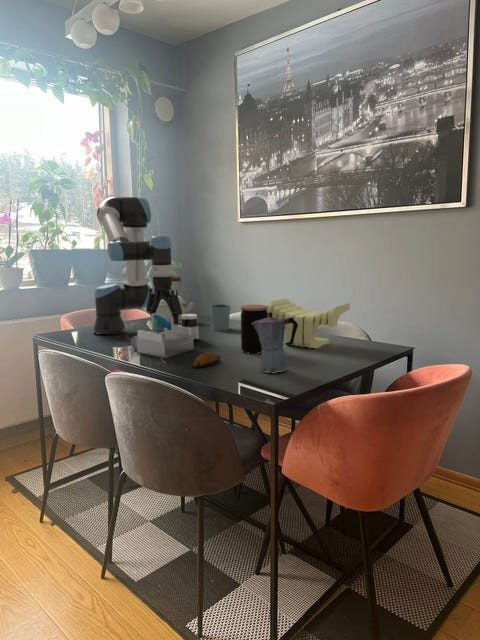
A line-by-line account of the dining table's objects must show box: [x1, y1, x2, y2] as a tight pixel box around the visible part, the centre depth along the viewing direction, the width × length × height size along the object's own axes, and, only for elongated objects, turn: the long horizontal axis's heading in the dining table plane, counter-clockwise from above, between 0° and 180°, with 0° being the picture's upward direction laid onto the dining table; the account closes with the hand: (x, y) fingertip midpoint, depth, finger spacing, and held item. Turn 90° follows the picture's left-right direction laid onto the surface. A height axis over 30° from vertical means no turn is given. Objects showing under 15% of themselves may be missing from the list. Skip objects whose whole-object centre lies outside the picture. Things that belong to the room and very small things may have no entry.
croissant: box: [192, 351, 221, 369], centre depth 168 cm, size 14×7×5 cm, turn 143°
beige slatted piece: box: [267, 298, 351, 349], centre depth 195 cm, size 30×16×18 cm, turn 53°
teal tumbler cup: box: [209, 303, 231, 332], centre depth 233 cm, size 10×10×12 cm
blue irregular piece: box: [152, 315, 172, 333], centre depth 187 cm, size 11×6×10 cm
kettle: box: [151, 276, 195, 325], centre depth 253 cm, size 25×18×25 cm
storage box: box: [130, 326, 195, 359], centre depth 191 cm, size 22×16×10 cm
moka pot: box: [252, 312, 298, 372], centre depth 157 cm, size 10×15×20 cm, turn 95°
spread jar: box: [178, 313, 200, 343], centre depth 208 cm, size 12×11×12 cm
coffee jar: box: [240, 304, 268, 353], centre depth 186 cm, size 11×11×18 cm
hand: (164, 330), depth 188 cm, fingers closed on blue irregular piece, 11 cm apart
